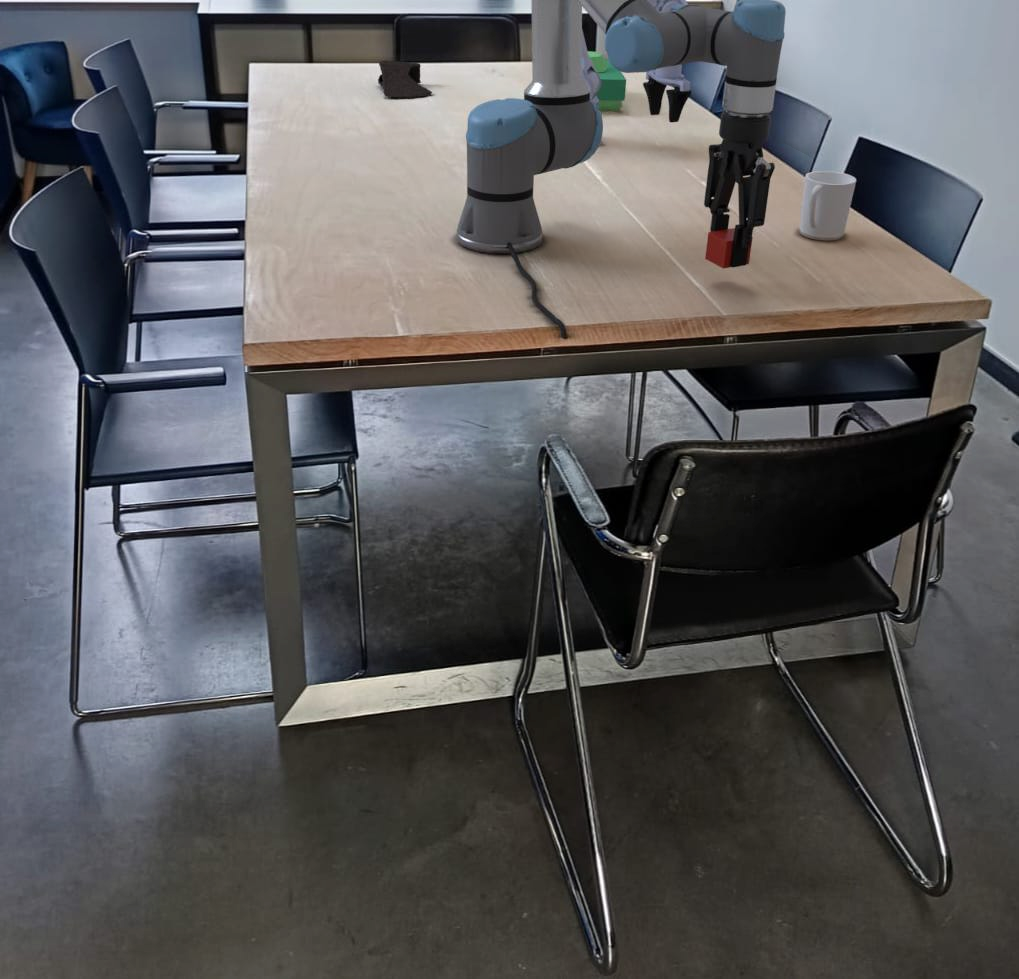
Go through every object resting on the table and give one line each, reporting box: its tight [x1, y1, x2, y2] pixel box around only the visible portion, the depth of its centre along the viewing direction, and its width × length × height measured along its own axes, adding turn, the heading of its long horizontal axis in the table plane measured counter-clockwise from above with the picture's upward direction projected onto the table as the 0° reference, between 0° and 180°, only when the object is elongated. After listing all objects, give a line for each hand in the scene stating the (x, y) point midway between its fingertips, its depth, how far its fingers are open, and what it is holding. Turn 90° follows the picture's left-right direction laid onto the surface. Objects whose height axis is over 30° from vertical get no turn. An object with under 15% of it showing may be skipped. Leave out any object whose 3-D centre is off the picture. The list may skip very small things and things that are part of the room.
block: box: [704, 227, 754, 270], centre depth 176 cm, size 5×5×4 cm
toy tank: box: [587, 50, 627, 112], centre depth 293 cm, size 18×12×35 cm
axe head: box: [377, 59, 433, 99], centre depth 299 cm, size 18×8×15 cm
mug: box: [798, 170, 857, 241], centre depth 199 cm, size 11×9×10 cm
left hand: (727, 259), depth 177 cm, fingers closed on block, 5 cm apart
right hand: (664, 118), depth 250 cm, fingers open, 7 cm apart
